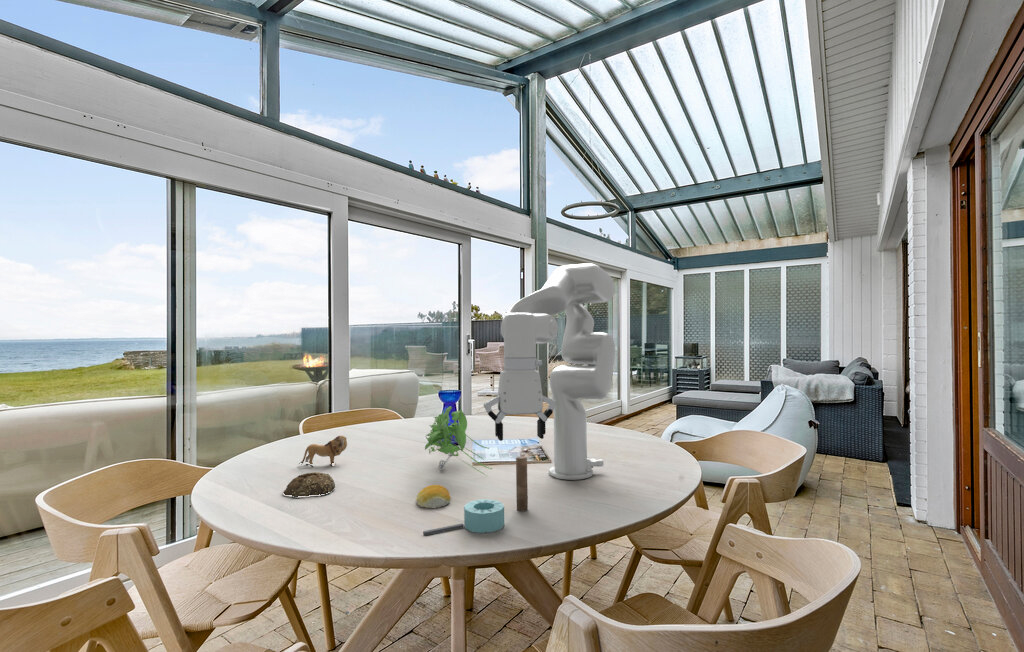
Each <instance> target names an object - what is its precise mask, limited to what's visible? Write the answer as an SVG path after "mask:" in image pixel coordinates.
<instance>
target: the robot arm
mask: <svg viewBox="0 0 1024 652" xmlns="http://www.w3.org/2000/svg"><path fill="white" fill-rule="evenodd" d="M614 295H615V283H614V280H613V278H612V276H611V275H610V274H609V273H607V272H606V271H605V270H604V269H603V268H602V267H600V265H597V264H594V263H578V264H577V263H576V264H565V265H561V266H558V267H557V268H556V269H554V271H553V272H552V273H551V275H550V276H549V277H548V278H547V280H546V281H545V283H544V285H542V287H541V289H539V290H536V291H535V292H532V293H530V294H528V295H527V296H524V297H523V298H521V299H519V300H518V301H516V302H515V303H513V304H512V305H511V307H510V308H509V310H507V312H506V313H505V315H504V316H503V318H502V321H501V323H500V335H501V336H502V338H503V370H502V371H500V372H499V373H500V374H499V378H498V379H499V380H498V387H497V388H498V389H497V390H498V391H497V396H495V397H493V398H491V399H489V400H488V401H486V402H484V403H483V405H482V406H483V408H484V410H485V411H486V413H487V415H488V417H489V418H491V420H493V421H494V423H495V424H494V426H495V427H494V428H495V429H494V431H495V437H497V440H499V441H501V442H502V441H504V423H503V422H502V421H503V420H504V418H505V417H506V416H507V415H508V416H514V415H536V416H537V417H538V419H537V422H536V423H537V425H536V427H537V428H536V429H537V430H536V431H537V433H536V434H537V435H536V436H537V437H538V438H539V439H541V440H542V439H544V438H545V437H544V435H546V433H547V432H546V422H547V421H548V419H549V418H550V417H551V415H553V449H554V450H553V452H554V453H553V459H554V460H553V461H554V463H553V464H554V465H553V466H551V467H550V468H549V470H548V474H549V475H550V476H552V477H553V478H555V479H560V480H567V481H569V480H571V481H574V480H584V479H589V478H591V477H592V476H593V474H594V473H593V472H594V471H593V468H594V467H595V468H599V467H604V460H603V459H596V458H589V457H588V443H587V442H588V435H587V433H588V432H587V431H588V430H587V429H588V427H587V425H588V424H587V418H588V417H587V411H586V409H585V406H584V405H583V403H582V402H581V401H580V399H581V400H582V399H583V400H585V399H586V400H604V399H605V398H607V397H608V396H609V394H610V391H611V390H610V389H611V385H612V379H613V378H612V377H613V371H614V363H615V358H616V357H615V355H616V345H615V340H614V338H613V336H612V335H610V334H609V333H606V332H604V331H602V332H601V331H600V332H598V331H597V332H595V331H594V325H595V320H594V317H593V315H592V314H591V313H590V312H589V311H588V309H587V308H586V307H585V306H584V305H583V304H600V303H601V304H602V303H607V302H610V301H611V300H612V299H613V298H614ZM563 311H564V314H565V318H566V322H565V326H564V327H565V328H564V333H563V339H562V342H561V349H560V351H561V352H560V353H561V354H560V355H561V357H562V360H563V361H564V362H566V363H568V364H562V365H559V366H555V368H553V369H552V371H551V372H550V374H549V375H550V376H549V385H550V392H551V396H552V399H551V398H550V397H548V396H545V395H543V390H542V382H541V381H542V380H541V376H540V371H539V370H537V369H538V367H540V366H541V367H542V366H543V360H542V359H541V360H540V359H537V358H538V357H537V344H548V343H552V341H553V340H555V339H556V337H557V335H558V333H559V325H558V322H557V319H556V318H555V317H554V316H555V315H558V314H561V313H562V312H563ZM543 402H544V403H546V404H547V405H548V407H547V408H546V409H545V410H544V412H543V404H544V403H543ZM495 405H497V409H498V412H497V413H496V414H495V413H494V411H493V409H492V407H493V406H495Z"/></svg>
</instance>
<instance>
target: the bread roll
mask: <svg viewBox="0 0 1024 652" xmlns="http://www.w3.org/2000/svg"><path fill="white" fill-rule="evenodd" d="M451 499H452V496H451V494H450V492H449V490H448V489H447V488H446V487H445V486H443V485H440V484H431V485H427V486H425V487H424V488H422V489H421V490H420V491H418V493H417V495H416V498H415V500H416V503H417V505H418V506H420V507H421V508H424V507H425V508H424V509H435V508H434V507H438V508H442V507H441V506H443V507H446V506H447V505H449V504H450V502H451ZM432 507H433V508H432Z"/></svg>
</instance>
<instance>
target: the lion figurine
mask: <svg viewBox="0 0 1024 652" xmlns="http://www.w3.org/2000/svg"><path fill="white" fill-rule="evenodd" d="M347 446H348V442H347V437H346V436H344V435H338V436H336V437H335V438H333V439H332V440H330V441H328V442H327V443H326V444H317V443H312V444H309V445H308V446H307V447H306V449H305V450H304V451H305V452H304V455H303V459H302V460H301V461H300V462H299V463H298V464H300V463H302V464H303V463H305V462H309V463H310V464H314V463H313V461H314V457H315V456H316V455H318V456H319V457H322V458H324V457H326V458H327V457H329V461H330V465H331V464H332V463H334V462H335V457H337V456H340V455H341V454H342V452H343V451H345V450H346V449H347V448H348V447H347ZM310 464H309V465H310Z"/></svg>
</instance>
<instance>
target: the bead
mask: <svg viewBox="0 0 1024 652" xmlns="http://www.w3.org/2000/svg"><path fill="white" fill-rule="evenodd" d="M463 511H464V512H463V516H464V520H463V522H464V523H463V525H464V529H465V530H467V531H469V532H471V533H478V534H485V532H487V533H494V532H497V531H499V530H501V529H502V528H504V526H505V505H504V503H503V502H501V501H499V500H497V499H487V498H485V499H484V498H483V499H475V500H472V501H468V502H467V503H466V504H465V505H464V506H463ZM496 530H497V531H496ZM493 531H494V532H493Z"/></svg>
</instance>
